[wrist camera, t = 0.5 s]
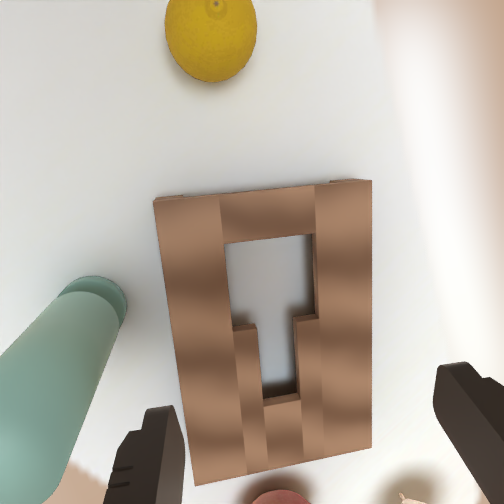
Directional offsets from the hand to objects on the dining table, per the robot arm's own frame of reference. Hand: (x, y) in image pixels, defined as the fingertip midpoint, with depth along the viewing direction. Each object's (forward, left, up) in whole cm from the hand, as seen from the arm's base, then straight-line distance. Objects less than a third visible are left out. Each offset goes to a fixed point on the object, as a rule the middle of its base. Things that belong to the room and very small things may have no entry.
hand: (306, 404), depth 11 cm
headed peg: (+3, -11, -20) cm, 23 cm away
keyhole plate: (+7, +3, -20) cm, 21 cm away
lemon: (-15, 0, -20) cm, 25 cm away
